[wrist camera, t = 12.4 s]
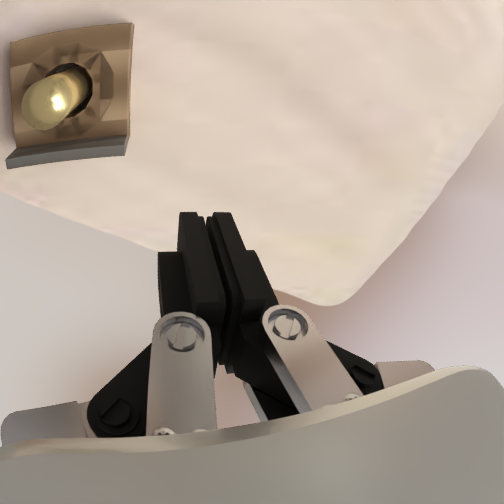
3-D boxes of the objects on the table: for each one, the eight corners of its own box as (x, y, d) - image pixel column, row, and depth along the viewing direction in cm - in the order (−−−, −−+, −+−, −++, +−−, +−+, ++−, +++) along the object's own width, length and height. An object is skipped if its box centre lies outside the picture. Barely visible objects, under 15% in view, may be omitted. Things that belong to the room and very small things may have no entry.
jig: (23, 41, 19) (-4, 44, 15) (134, 24, 23) (128, 20, 18) (29, 145, 27) (7, 169, 22) (130, 134, 30) (124, 155, 25)
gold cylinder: (57, 69, 23) (19, 84, 16) (93, 64, 24) (67, 75, 17) (58, 105, 25) (23, 133, 18) (93, 101, 27) (69, 126, 19)
